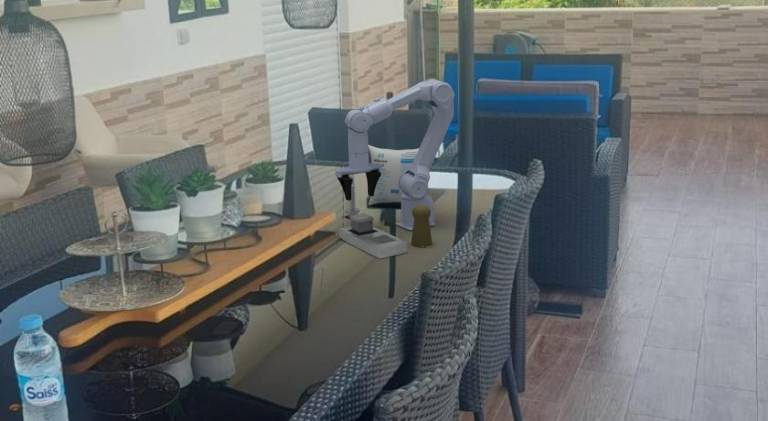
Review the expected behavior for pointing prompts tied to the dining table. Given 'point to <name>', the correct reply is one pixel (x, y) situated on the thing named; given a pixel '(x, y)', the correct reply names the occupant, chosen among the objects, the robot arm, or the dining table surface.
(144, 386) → the dining table surface
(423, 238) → the cork
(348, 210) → the screw
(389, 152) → the pouch
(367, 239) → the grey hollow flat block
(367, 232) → the grey rectangular block
